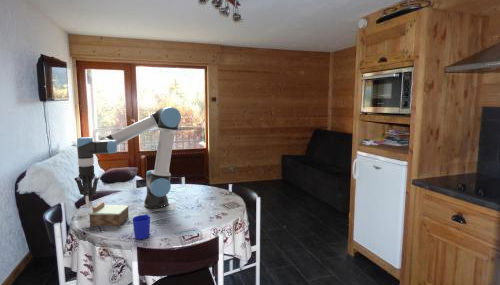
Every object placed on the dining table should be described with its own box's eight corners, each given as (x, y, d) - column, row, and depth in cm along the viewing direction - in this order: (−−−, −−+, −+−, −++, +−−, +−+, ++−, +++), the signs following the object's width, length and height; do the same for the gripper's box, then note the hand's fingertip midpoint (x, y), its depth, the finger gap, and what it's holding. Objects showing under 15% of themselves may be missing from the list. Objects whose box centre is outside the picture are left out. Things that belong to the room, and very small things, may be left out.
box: (128, 217, 175) (128, 207, 174) (119, 225, 163) (118, 215, 162) (101, 216, 175) (100, 207, 174) (90, 225, 163) (89, 214, 162)
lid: (128, 206, 174) (128, 201, 174) (119, 215, 162) (118, 209, 161) (100, 206, 175) (100, 200, 174) (88, 214, 162) (88, 208, 161)
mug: (154, 230, 158) (154, 212, 157) (147, 240, 146) (147, 221, 145) (139, 230, 158) (138, 212, 156) (130, 240, 146) (130, 221, 144)
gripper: (101, 164, 168) (103, 204, 172) (78, 163, 169) (81, 204, 172) (94, 166, 161) (96, 209, 164) (70, 166, 161) (73, 208, 164)
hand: (88, 206), depth 168 cm, fingers closed
